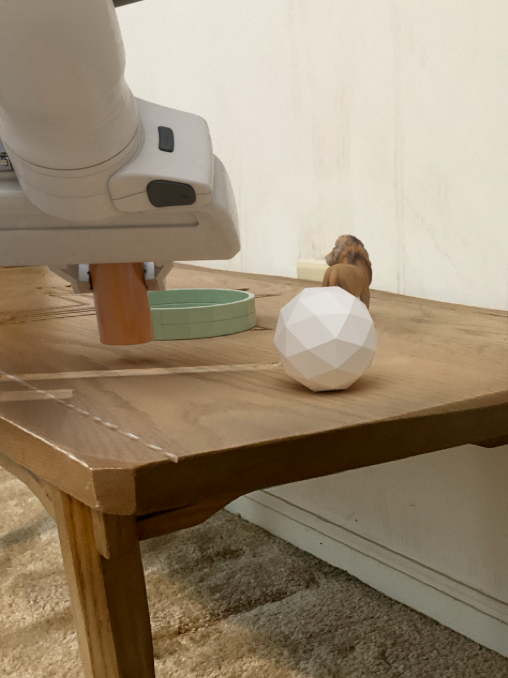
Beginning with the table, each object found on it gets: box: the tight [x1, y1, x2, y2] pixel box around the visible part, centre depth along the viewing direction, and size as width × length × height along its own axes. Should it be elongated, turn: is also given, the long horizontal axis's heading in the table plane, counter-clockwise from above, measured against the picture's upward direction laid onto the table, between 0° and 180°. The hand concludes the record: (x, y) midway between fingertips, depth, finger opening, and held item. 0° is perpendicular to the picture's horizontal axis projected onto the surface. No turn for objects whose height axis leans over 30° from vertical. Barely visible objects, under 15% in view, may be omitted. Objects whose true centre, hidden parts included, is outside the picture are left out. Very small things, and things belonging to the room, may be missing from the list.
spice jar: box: [88, 262, 155, 347], centre depth 69 cm, size 4×4×9 cm
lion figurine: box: [321, 234, 373, 311], centre depth 89 cm, size 15×5×9 cm, turn 0°
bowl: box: [149, 287, 257, 341], centre depth 88 cm, size 15×15×4 cm
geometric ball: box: [272, 286, 379, 393], centre depth 64 cm, size 8×8×8 cm
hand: (121, 286), depth 70 cm, fingers closed on spice jar, 4 cm apart
